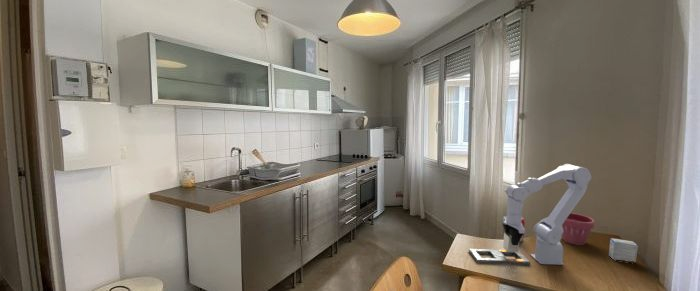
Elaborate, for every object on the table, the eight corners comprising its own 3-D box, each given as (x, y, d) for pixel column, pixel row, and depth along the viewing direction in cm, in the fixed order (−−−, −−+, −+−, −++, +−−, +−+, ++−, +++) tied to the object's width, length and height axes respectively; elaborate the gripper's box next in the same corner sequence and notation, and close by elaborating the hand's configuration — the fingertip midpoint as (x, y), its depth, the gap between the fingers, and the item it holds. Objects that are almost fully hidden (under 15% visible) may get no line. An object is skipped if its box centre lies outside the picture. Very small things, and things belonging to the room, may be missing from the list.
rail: (517, 253, 130) (517, 250, 130) (530, 265, 120) (530, 261, 120) (468, 251, 131) (469, 248, 131) (477, 262, 121) (477, 259, 121)
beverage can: (525, 243, 141) (527, 220, 139) (511, 241, 142) (513, 219, 141) (520, 237, 147) (522, 215, 145) (507, 236, 148) (509, 214, 147)
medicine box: (630, 259, 126) (633, 241, 125) (635, 264, 122) (638, 245, 121) (608, 255, 129) (610, 237, 128) (612, 260, 125) (614, 241, 124)
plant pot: (550, 238, 147) (552, 214, 145) (564, 233, 153) (566, 210, 152) (583, 250, 134) (586, 224, 133) (597, 244, 141) (600, 219, 139)
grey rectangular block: (513, 247, 127) (514, 232, 126) (518, 252, 123) (519, 236, 122) (503, 247, 127) (503, 232, 126) (507, 252, 123) (508, 236, 122)
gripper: (497, 207, 130) (495, 235, 132) (513, 218, 116) (511, 249, 117) (513, 207, 130) (510, 235, 131) (531, 219, 116) (528, 250, 117)
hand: (512, 242), depth 124 cm, fingers closed on grey rectangular block, 4 cm apart
